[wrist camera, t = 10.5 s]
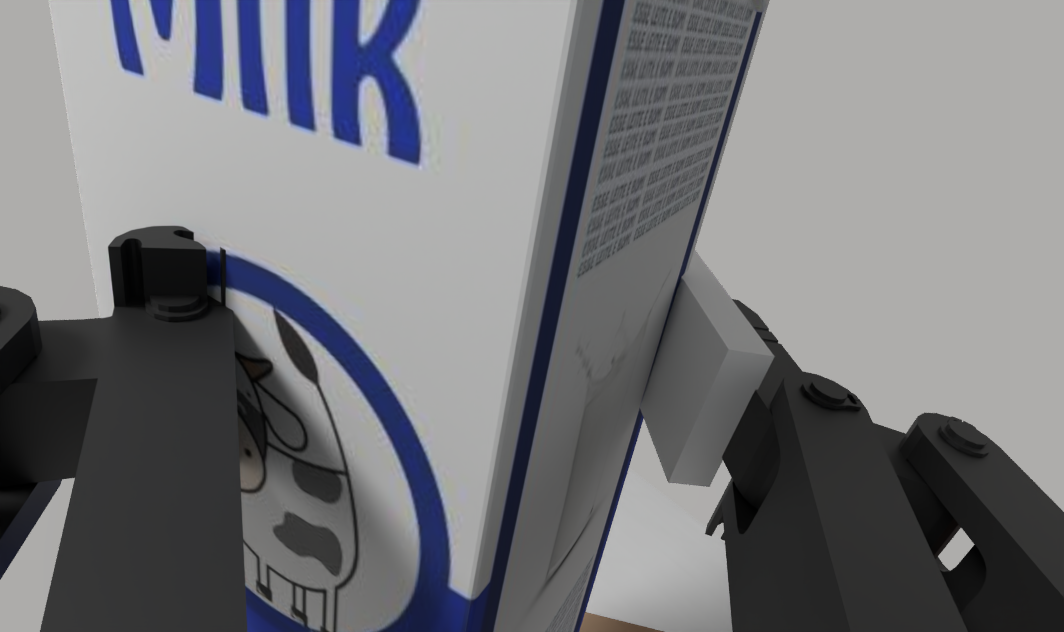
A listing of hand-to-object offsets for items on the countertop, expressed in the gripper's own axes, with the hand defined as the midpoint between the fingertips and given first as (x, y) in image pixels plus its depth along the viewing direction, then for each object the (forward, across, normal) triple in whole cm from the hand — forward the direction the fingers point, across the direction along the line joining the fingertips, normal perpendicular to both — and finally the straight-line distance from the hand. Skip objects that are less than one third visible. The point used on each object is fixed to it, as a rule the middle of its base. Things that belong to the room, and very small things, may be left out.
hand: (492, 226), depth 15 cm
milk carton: (-5, -1, -11) cm, 12 cm away
